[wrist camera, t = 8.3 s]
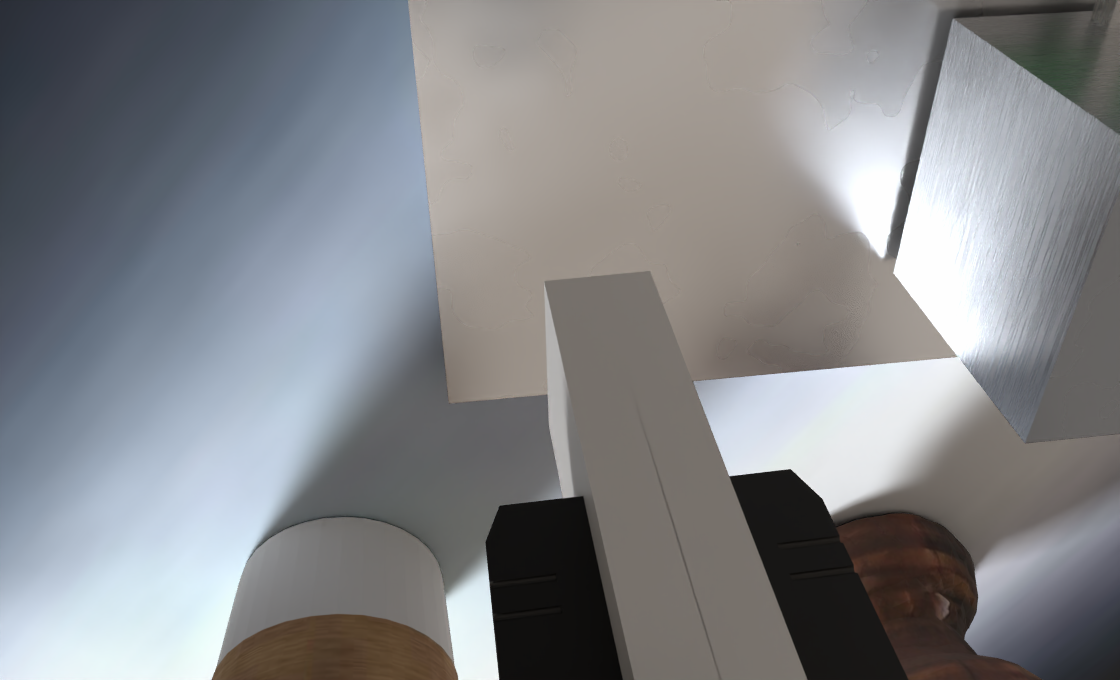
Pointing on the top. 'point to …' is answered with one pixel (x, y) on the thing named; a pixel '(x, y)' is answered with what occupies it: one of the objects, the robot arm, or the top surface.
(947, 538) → the mortar and pestle
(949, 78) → the grey rectangular block
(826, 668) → the robot arm
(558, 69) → the gauge base
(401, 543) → the coffee cup
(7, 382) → the top surface
